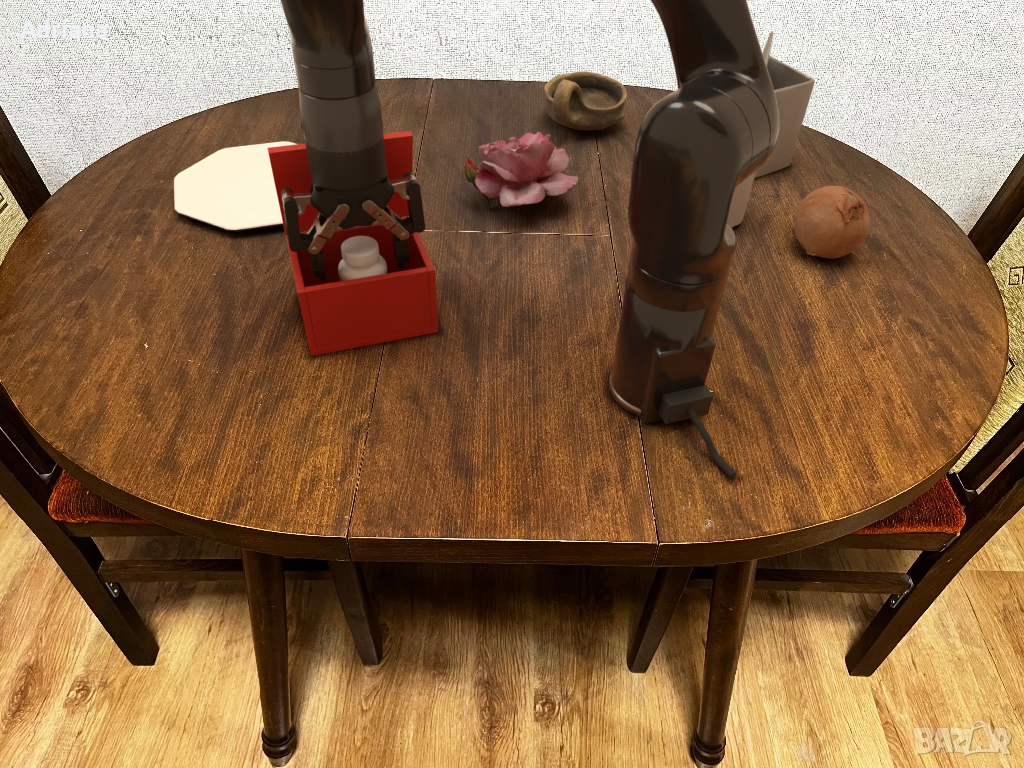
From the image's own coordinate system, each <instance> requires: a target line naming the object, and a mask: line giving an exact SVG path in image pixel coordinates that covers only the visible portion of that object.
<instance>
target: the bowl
mask: <svg viewBox="0 0 1024 768" xmlns="http://www.w3.org/2000/svg"><path fill="white" fill-rule="evenodd" d="M544 95H545V97H546V98H545V110H546V112H547V114H548V116H549V117H550V118H551V119H552V120H553V121H554V122H555V123H558V124H559V125H562V126H563V127H566V128H570V129H574V130H577V131H598V130H599V131H600V130H604V129H606V128H609V127H610V126H613V125H615V124H617V123H619V122H620V121H622V120H623V119H624V118H625V103H626V100H627V98H628V92H627V90H626V87H625V85H623V83H622V82H620V81H619V80H617V79H615V78H613V77H610V76H608V75H603V74H601V73H597V72H593V71H585V70H584V71H575V72H568V73H564V74H557V75H555V76H553V77H552V78H550V80H548V81H547V83H546V84H545V85H544Z"/></svg>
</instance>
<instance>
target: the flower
mask: <svg viewBox="0 0 1024 768" xmlns="http://www.w3.org/2000/svg"><path fill="white" fill-rule="evenodd" d="M551 136H552V135H551V133H550V134H548V133H546V134H545V135H543V133H542V132H541V131H537V132H536V133H532V132H525V133H524V134H522V135H521V136H520V137H516V136H511V137H509V138H508V139H507V140H506V141H505V140H503V139H498V140H496V141H494V142H490V143H489V142H488V143H486V144H482V145H481V144H480V145H479V146H478V154H479V158H480V161H481V162H480V163H479V165H477V164H476V163H475V162H474V161H473V160H472V158H471V156H468V157H467V158H466V159H465V165H464V166H463V168H464V175H465V179H466V180H467V181H468V182H469V183H471V184H472V185H473V187H474V188H475V189H477V190H478V191H479V193H480V194H481V195H482V196H483V197H484V199H485V201H486V202H487V204H488V205H489V207H490V208H491V209H490V210H493V205H492V202H491V200H490V199H499V204H501V206H502V207H505V208H508V207H516V206H522V205H526V206H527V205H532V204H536V205H537V204H539V203H541V202H542V201H543V200H544V198H545V197H546V196H549V197H553V196H560V195H562V194H566V193H568V192H569V191H571V190H572V189H573V188H574V187H575V186H576V185H577V183H578V182H579V176H572V175H567V174H565V173H564V172H565V170H566V169H567V168H568V167H569V164H570V156H569V155H568V154H567V152H566V149H565V148H559V149H558V148H557V146H555V145H554V142H552V141H550V138H551Z"/></svg>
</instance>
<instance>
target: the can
mask: <svg viewBox="0 0 1024 768" xmlns="http://www.w3.org/2000/svg"><path fill="white" fill-rule="evenodd" d="M755 173H756V171H755V172H754V173H753V174H752V175H751V176H749V177H748V178H747V179H745V180H744V181H743V182H742V183H740V184H739V185H738V186H736V187H735V190H734V193H733V197H732V201H731V205H730V209H729V214H728V219H727V223H728V224H729V225H730V226H731V228H732V229H733V228H735V226H737V225H740V224H742V222H743V221H744V217H745V214H746V210H747V206H748V202H749V199H750V196H751V193H752V192H751V191H752V188H753V184H754V181H755V178H754V177H755Z"/></svg>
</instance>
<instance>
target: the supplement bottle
mask: <svg viewBox="0 0 1024 768" xmlns="http://www.w3.org/2000/svg"><path fill="white" fill-rule="evenodd" d="M341 251H342V258H343V259H342V260H341V261H340V263H339V266H338V273H339V279H340V281H345V280H351V279H357V278H363V277H369V276H375V275H381V274H387V273H388V269H387V264H386V261H385V260H384V258H383V257H382V256H380V255H379V247H378V243H377V241H376V240H375V239H373V238H371V237H368V236H355V237H351V238H348V239H347V240H345V241H344V242H343V243H342V245H341Z"/></svg>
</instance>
